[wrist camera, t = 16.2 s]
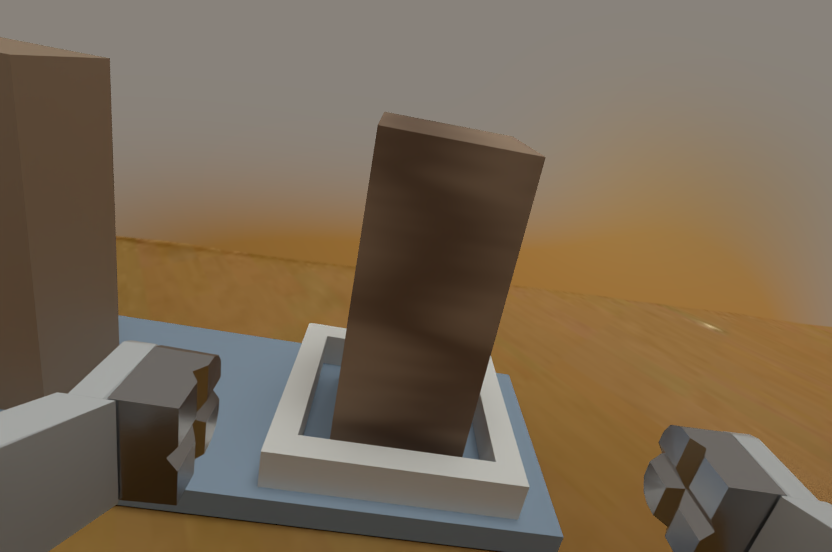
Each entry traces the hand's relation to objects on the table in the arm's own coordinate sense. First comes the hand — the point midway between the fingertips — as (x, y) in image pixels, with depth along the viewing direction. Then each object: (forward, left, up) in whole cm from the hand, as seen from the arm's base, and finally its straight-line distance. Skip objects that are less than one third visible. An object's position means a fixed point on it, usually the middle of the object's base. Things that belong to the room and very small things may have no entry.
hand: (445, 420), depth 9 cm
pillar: (-2, -10, -8) cm, 13 cm away
